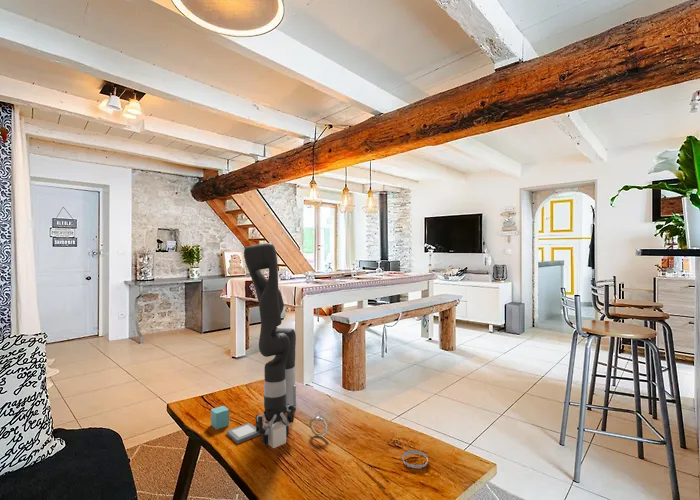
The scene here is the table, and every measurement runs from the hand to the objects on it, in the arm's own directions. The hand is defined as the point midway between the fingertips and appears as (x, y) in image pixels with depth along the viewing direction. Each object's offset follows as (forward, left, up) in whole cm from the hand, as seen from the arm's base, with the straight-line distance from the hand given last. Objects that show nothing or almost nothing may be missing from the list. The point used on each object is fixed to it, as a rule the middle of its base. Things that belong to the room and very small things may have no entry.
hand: (275, 440), depth 124 cm
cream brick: (0, 0, -1) cm, 1 cm away
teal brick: (+20, -19, -1) cm, 28 cm away
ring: (-15, 0, -1) cm, 15 cm away
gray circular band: (-41, +24, -1) cm, 48 cm away
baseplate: (+11, -9, -1) cm, 14 cm away
